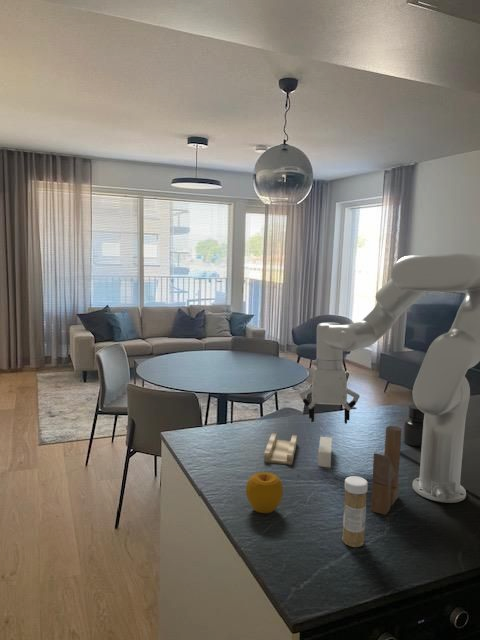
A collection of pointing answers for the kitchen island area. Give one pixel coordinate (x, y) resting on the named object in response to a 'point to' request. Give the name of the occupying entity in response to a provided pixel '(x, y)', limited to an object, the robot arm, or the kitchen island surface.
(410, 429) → the ink bottle
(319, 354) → the robot arm
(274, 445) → the rack
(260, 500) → the apple
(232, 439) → the kitchen island surface
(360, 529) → the sprinkles bottle
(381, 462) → the stepped wooden upright
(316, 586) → the kitchen island surface
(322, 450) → the strip
